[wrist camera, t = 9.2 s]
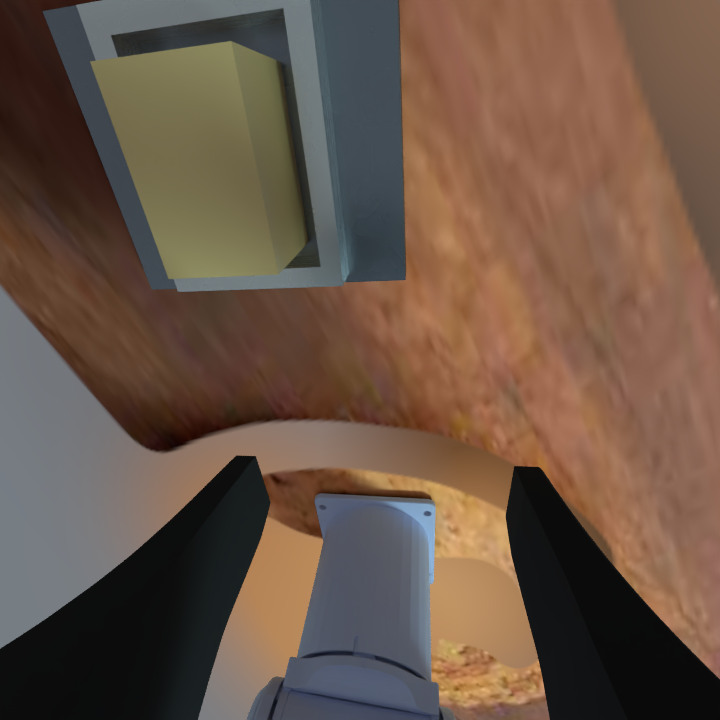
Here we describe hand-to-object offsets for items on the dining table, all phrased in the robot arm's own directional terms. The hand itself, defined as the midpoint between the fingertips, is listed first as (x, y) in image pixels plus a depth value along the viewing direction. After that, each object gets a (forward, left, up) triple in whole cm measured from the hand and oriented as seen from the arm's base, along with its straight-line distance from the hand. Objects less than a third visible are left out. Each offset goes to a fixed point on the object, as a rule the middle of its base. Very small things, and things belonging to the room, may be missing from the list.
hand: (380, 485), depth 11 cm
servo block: (+8, +6, -8) cm, 13 cm away
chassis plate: (+8, +6, -9) cm, 14 cm away
